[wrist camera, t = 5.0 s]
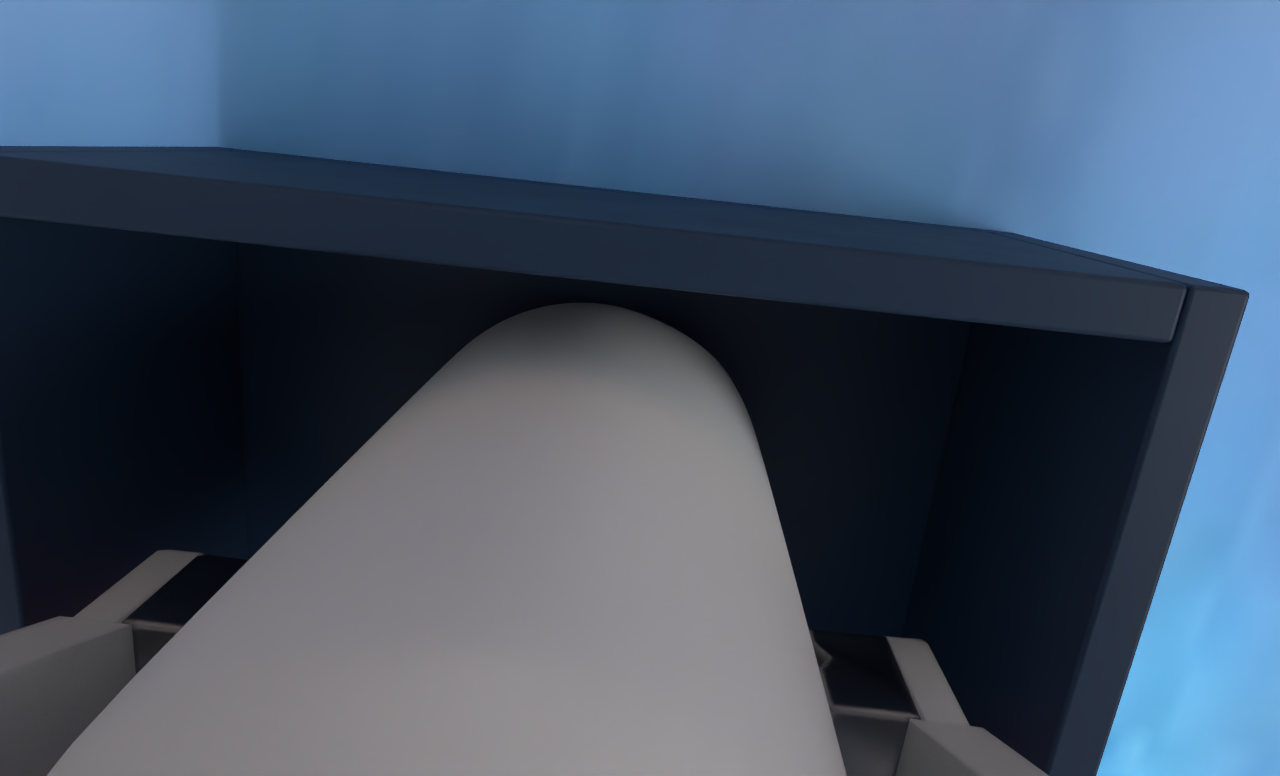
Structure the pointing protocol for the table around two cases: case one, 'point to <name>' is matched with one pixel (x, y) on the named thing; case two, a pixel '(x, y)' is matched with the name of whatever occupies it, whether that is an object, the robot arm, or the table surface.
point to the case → (659, 288)
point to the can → (508, 589)
